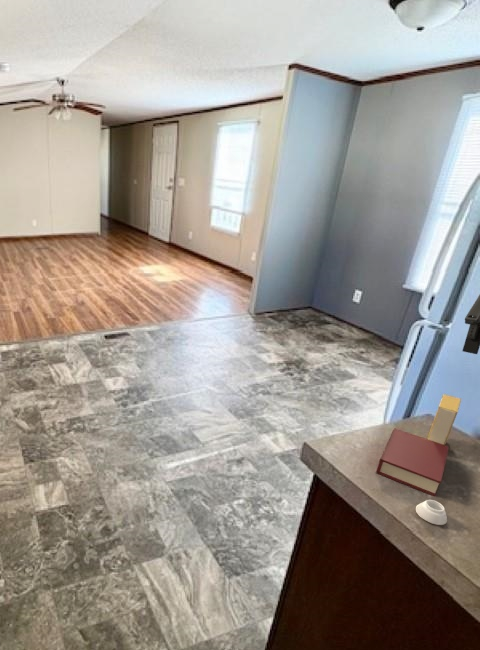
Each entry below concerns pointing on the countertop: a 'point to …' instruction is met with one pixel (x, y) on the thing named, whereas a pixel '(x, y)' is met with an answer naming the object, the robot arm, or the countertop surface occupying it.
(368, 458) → the countertop surface
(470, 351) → the robot arm
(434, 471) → the big book
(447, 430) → the small book
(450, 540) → the countertop surface
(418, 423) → the countertop surface
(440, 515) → the upside-down white bowl
